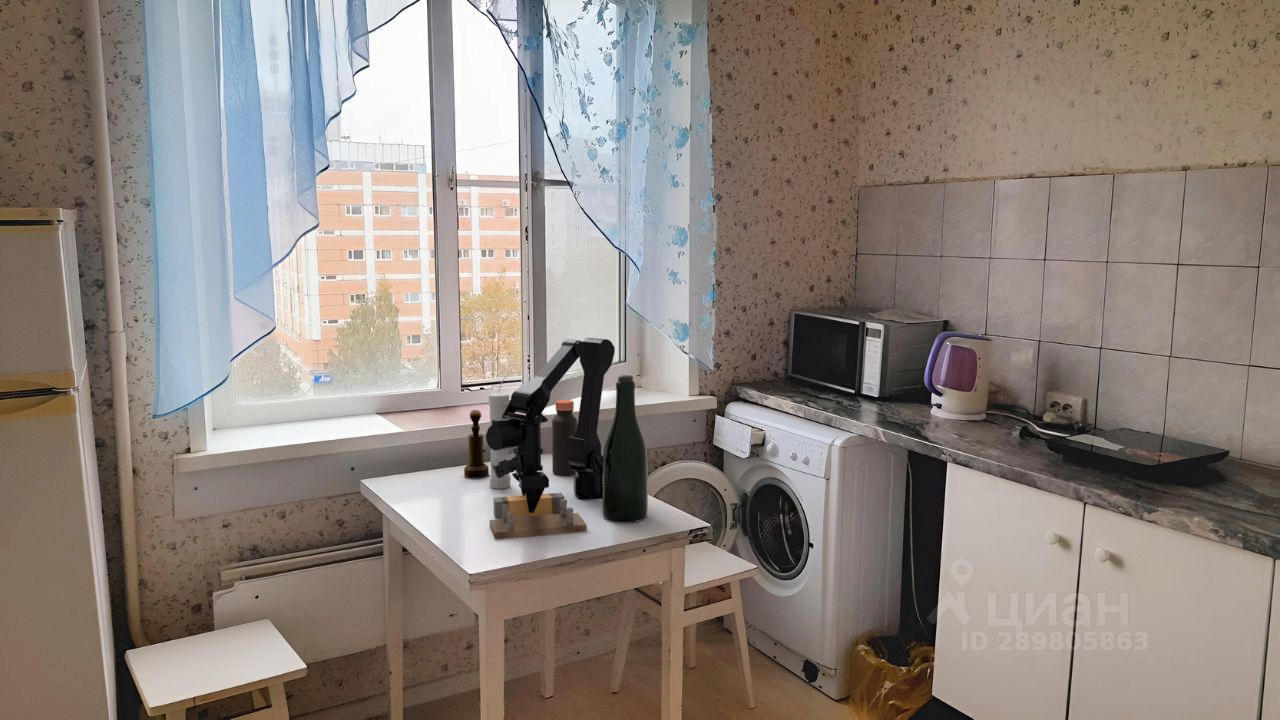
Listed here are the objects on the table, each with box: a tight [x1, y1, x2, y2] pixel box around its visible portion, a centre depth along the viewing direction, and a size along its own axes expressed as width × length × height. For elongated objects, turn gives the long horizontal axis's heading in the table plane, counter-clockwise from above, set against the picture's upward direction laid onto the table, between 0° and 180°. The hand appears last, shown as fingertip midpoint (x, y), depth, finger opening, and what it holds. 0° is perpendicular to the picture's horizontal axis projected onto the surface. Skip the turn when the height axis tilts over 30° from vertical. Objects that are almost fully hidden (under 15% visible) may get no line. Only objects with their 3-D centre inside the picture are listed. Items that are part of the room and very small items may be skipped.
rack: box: [489, 499, 588, 540], centre depth 195 cm, size 20×9×5 cm, turn 107°
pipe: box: [487, 371, 513, 490], centre depth 227 cm, size 6×6×30 cm
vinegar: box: [551, 399, 578, 477], centre depth 242 cm, size 7×7×20 cm
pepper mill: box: [463, 409, 490, 479], centre depth 239 cm, size 7×6×18 cm
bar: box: [492, 492, 565, 520], centre depth 206 cm, size 16×4×4 cm, turn 107°
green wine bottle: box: [602, 374, 649, 523], centre depth 203 cm, size 10×10×33 cm
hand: (529, 508), depth 206 cm, fingers open, 6 cm apart
